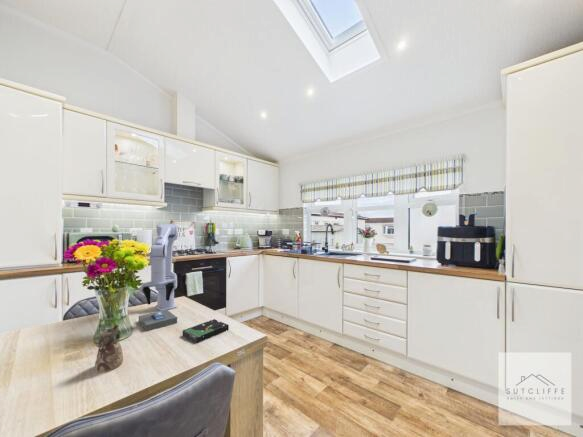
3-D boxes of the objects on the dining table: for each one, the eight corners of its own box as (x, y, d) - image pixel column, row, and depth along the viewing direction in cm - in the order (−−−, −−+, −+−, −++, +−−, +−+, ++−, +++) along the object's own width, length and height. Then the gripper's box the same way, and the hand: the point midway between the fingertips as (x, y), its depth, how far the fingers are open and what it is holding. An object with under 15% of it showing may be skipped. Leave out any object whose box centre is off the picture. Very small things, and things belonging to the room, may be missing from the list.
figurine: (90, 368, 77) (90, 329, 77) (115, 357, 83) (115, 321, 84) (102, 375, 74) (102, 333, 74) (127, 362, 80) (127, 325, 80)
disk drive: (213, 325, 111) (181, 337, 99) (214, 318, 111) (181, 329, 99) (229, 331, 104) (196, 344, 93) (229, 324, 104) (196, 337, 93)
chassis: (138, 321, 114) (138, 315, 114) (167, 314, 122) (167, 309, 122) (146, 331, 103) (146, 325, 104) (177, 323, 112) (177, 317, 112)
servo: (151, 320, 114) (151, 310, 115) (159, 319, 116) (159, 309, 116) (156, 326, 108) (156, 315, 108) (163, 324, 110) (163, 313, 110)
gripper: (142, 275, 105) (142, 308, 105) (178, 270, 115) (178, 300, 115) (138, 273, 111) (138, 304, 110) (173, 268, 120) (173, 297, 120)
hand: (158, 302), depth 113 cm, fingers open, 7 cm apart
